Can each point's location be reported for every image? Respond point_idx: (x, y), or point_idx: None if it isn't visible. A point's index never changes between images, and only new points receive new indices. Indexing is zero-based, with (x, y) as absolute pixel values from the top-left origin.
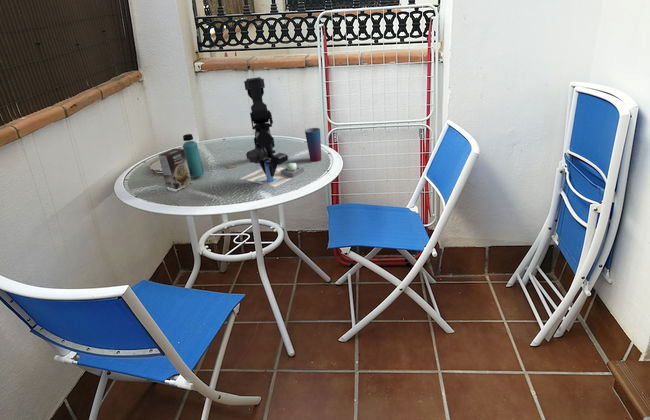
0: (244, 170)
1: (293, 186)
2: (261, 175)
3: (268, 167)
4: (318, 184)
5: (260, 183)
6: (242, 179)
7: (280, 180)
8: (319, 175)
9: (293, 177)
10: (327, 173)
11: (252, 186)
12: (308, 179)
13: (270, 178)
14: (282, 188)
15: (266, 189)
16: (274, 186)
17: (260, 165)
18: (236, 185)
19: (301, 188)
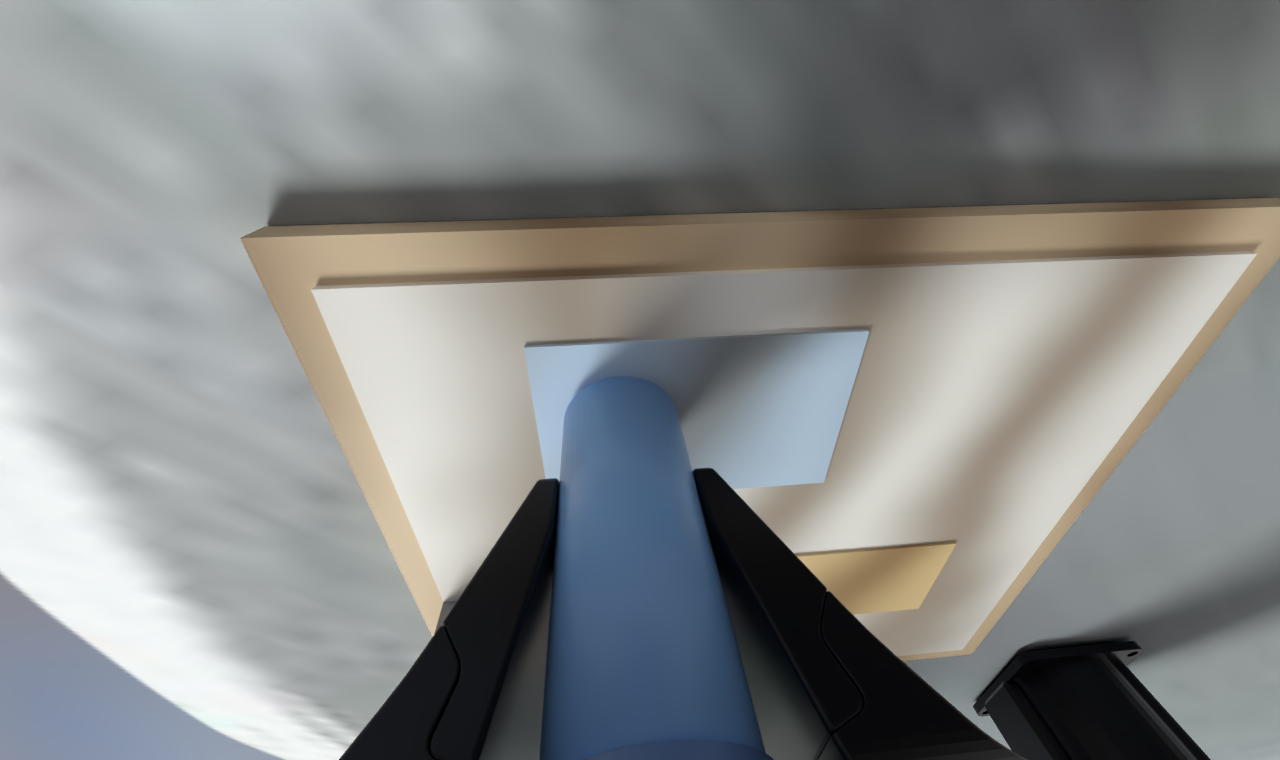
0: (1226, 493)
1: (229, 470)
2: (909, 482)
3: (561, 700)
4: (62, 616)
5: (731, 278)
6: (1194, 254)
7: (509, 495)
8: (331, 703)
9: (445, 603)
10: (319, 737)
11: (860, 160)
12: (318, 634)
13: (571, 440)
14: (280, 354)
15: (483, 185)
16: (350, 302)
17: (922, 684)
18: (1251, 26)
19: (52, 477)
